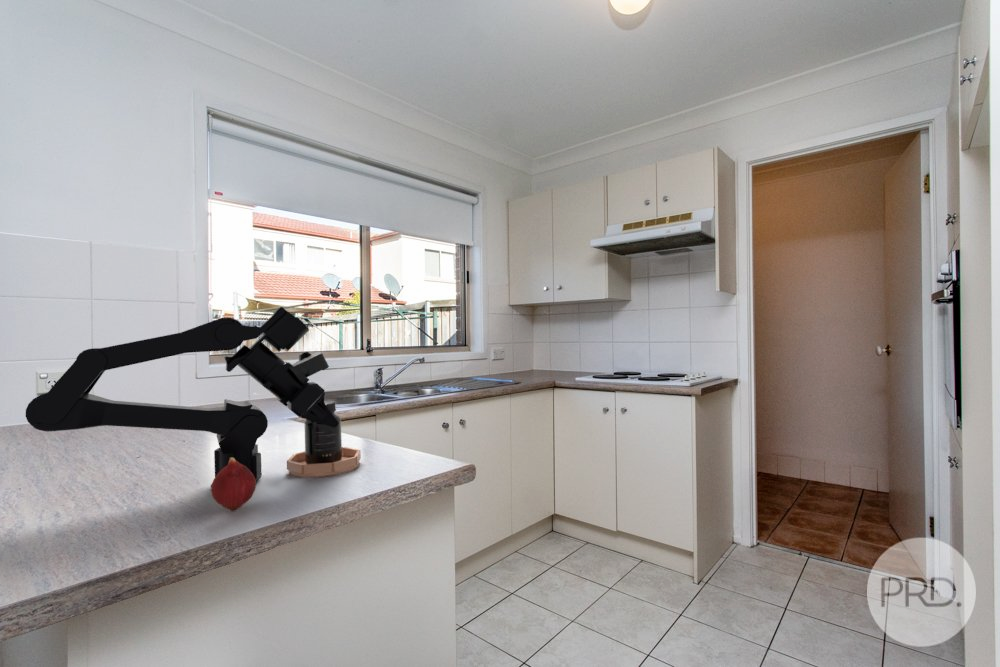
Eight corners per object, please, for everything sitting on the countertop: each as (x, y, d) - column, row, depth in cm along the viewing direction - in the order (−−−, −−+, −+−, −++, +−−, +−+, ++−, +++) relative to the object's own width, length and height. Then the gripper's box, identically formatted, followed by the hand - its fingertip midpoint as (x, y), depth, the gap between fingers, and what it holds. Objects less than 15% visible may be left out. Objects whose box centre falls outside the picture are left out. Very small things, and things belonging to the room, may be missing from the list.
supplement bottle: (302, 461, 95) (301, 402, 95) (337, 456, 99) (336, 399, 99) (308, 469, 89) (307, 406, 89) (345, 464, 93) (344, 402, 93)
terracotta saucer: (280, 479, 86) (280, 466, 86) (299, 460, 99) (298, 449, 99) (354, 475, 88) (354, 462, 88) (363, 456, 101) (363, 445, 101)
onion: (264, 504, 74) (262, 452, 74) (240, 518, 68) (239, 463, 68) (229, 503, 75) (228, 452, 75) (202, 517, 69) (201, 462, 69)
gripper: (310, 338, 84) (373, 395, 90) (293, 338, 99) (347, 386, 105) (261, 386, 80) (331, 443, 85) (251, 378, 95) (310, 426, 101)
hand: (331, 421), depth 95 cm, fingers open, 9 cm apart
